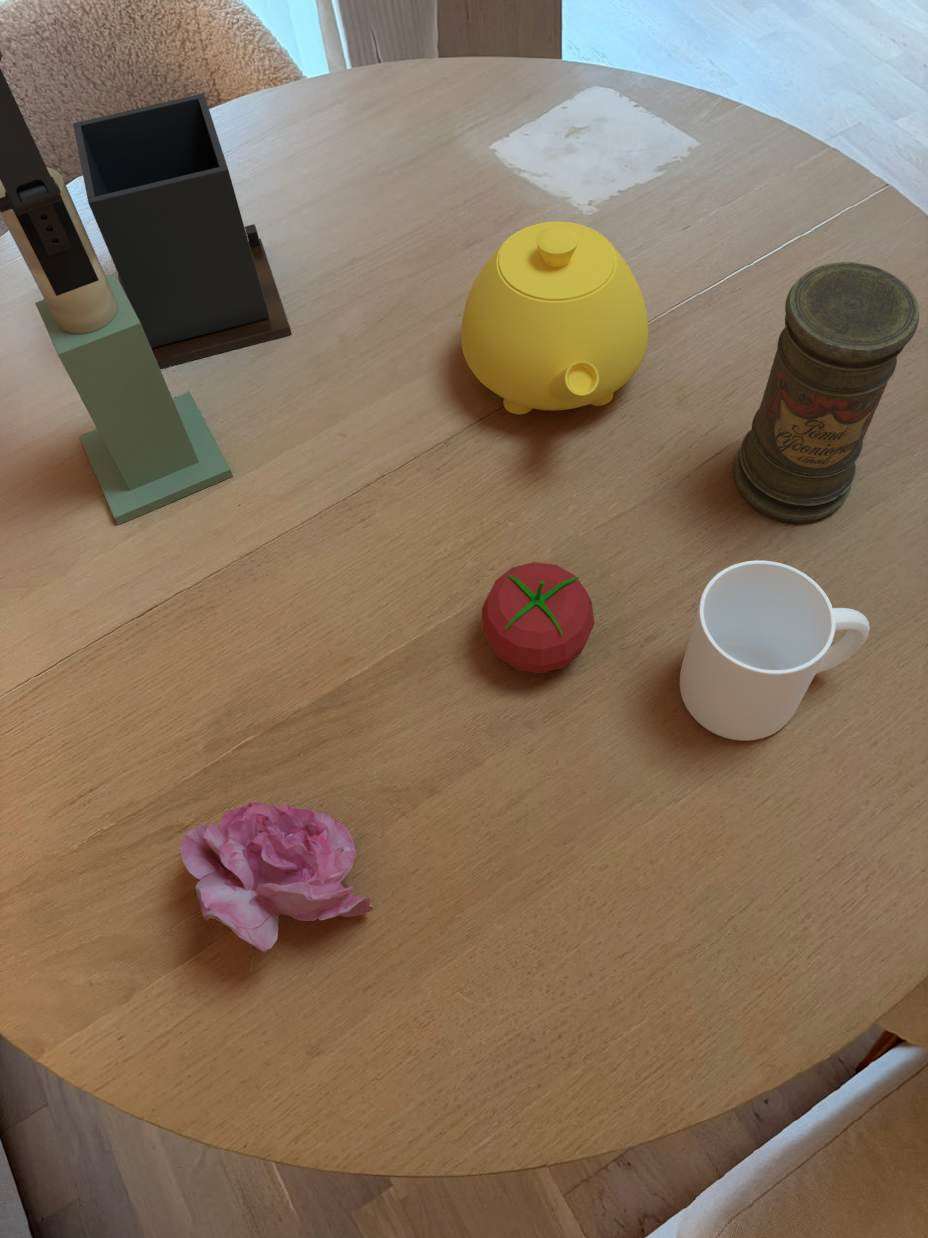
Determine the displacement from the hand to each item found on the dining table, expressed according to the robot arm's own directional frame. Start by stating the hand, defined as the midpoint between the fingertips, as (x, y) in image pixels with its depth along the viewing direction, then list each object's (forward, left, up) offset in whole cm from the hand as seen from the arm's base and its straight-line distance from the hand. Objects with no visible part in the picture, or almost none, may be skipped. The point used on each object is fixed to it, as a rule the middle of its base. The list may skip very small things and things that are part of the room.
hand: (46, 223), depth 65 cm
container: (+28, +44, -24) cm, 57 cm away
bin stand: (-16, +10, -23) cm, 30 cm away
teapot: (+10, +33, -24) cm, 42 cm away
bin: (-16, +10, -22) cm, 29 cm away
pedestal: (0, 0, -23) cm, 23 cm away
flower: (+39, -4, -24) cm, 46 cm away
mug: (+42, +31, -24) cm, 57 cm away
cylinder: (0, 0, -7) cm, 7 cm away
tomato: (+31, +19, -24) cm, 43 cm away
